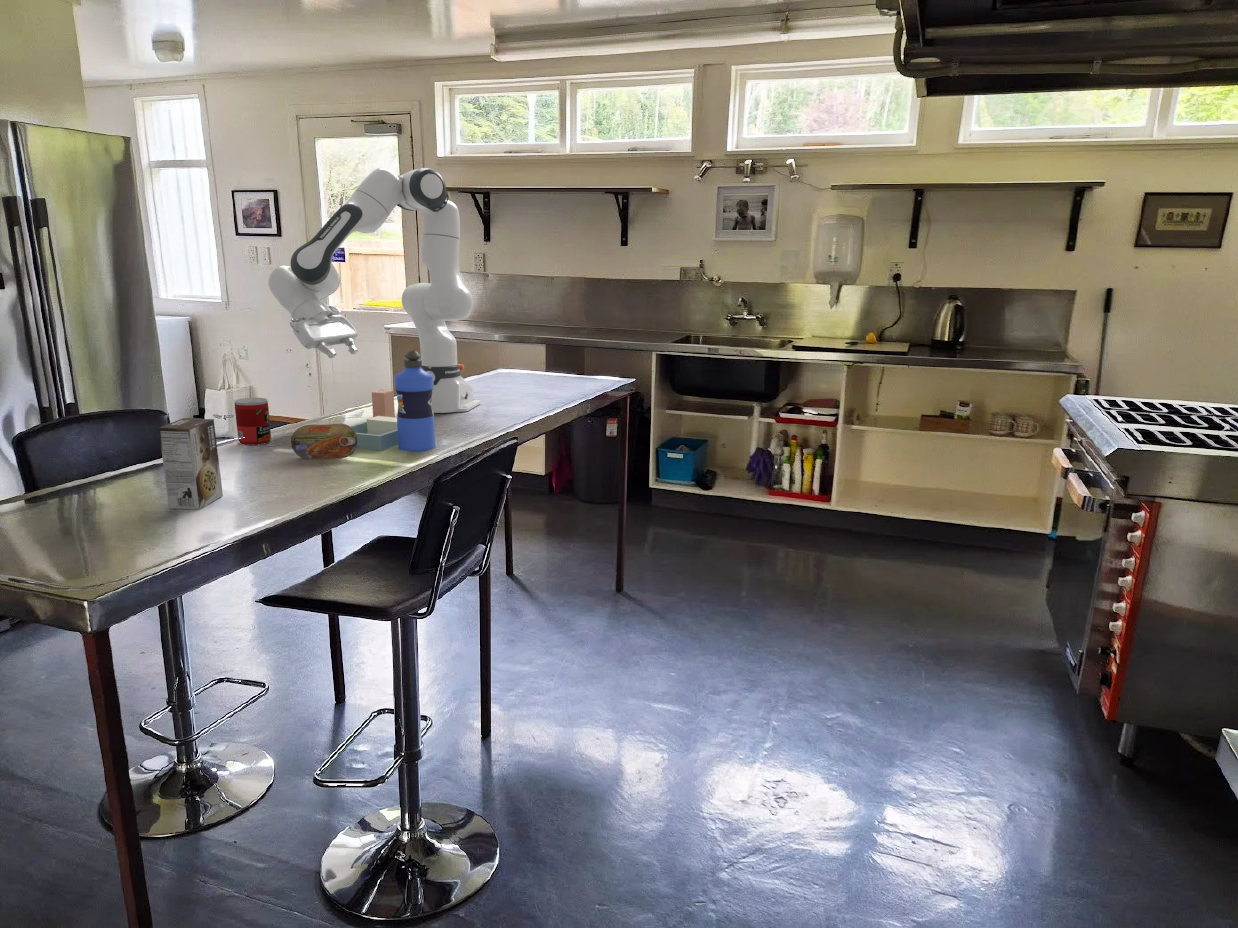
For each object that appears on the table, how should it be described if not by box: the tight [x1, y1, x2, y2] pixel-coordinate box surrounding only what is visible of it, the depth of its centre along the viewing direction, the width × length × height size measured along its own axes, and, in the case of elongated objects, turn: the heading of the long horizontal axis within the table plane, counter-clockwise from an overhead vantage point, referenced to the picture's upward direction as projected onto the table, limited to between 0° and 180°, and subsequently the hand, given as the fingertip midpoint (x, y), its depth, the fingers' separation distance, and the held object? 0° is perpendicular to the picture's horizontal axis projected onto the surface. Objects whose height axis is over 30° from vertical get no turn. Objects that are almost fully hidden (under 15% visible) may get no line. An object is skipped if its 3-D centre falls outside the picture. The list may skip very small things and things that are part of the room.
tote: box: [349, 420, 398, 452], centre depth 209 cm, size 18×14×4 cm
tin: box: [290, 423, 358, 461], centre depth 194 cm, size 15×3×8 cm, turn 102°
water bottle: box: [393, 350, 436, 452], centre depth 201 cm, size 9×9×25 cm
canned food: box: [233, 397, 272, 446], centre depth 207 cm, size 8×8×11 cm
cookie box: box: [157, 417, 224, 510], centre depth 157 cm, size 9×6×16 cm
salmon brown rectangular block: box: [371, 389, 396, 418], centre depth 223 cm, size 4×4×11 cm
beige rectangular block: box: [366, 416, 398, 435], centre depth 212 cm, size 5×9×5 cm, turn 71°
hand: (344, 354), depth 223 cm, fingers open, 8 cm apart
